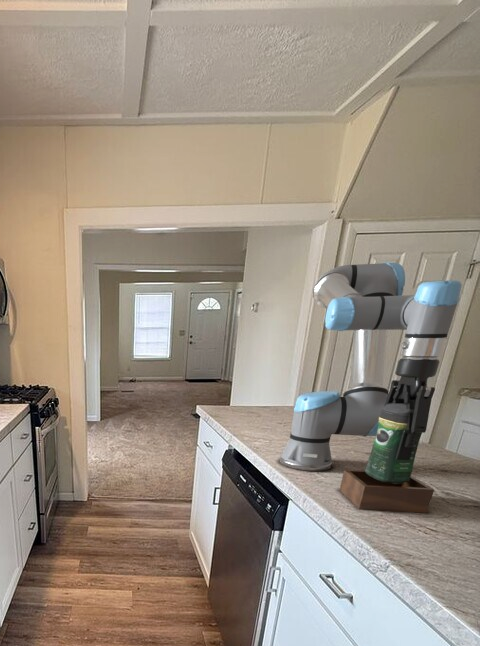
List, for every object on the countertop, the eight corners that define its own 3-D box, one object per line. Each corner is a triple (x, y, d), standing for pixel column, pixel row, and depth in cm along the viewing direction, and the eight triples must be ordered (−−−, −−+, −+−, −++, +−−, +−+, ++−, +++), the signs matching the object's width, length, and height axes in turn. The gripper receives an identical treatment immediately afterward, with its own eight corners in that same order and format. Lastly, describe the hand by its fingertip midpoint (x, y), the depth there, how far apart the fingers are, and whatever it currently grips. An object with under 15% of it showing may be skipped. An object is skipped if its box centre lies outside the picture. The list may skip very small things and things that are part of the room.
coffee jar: (415, 484, 97) (439, 408, 90) (382, 485, 98) (404, 408, 90) (388, 471, 106) (409, 400, 99) (358, 471, 106) (376, 401, 99)
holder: (339, 490, 111) (344, 469, 109) (399, 493, 109) (405, 472, 106) (359, 509, 99) (364, 486, 97) (426, 512, 97) (434, 489, 95)
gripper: (379, 355, 101) (358, 442, 110) (428, 361, 82) (397, 467, 90) (412, 354, 100) (388, 442, 109) (470, 361, 80) (435, 468, 89)
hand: (392, 453), depth 99 cm, fingers closed on coffee jar, 9 cm apart
